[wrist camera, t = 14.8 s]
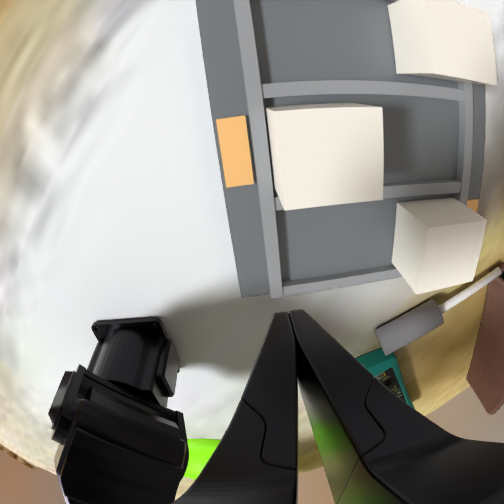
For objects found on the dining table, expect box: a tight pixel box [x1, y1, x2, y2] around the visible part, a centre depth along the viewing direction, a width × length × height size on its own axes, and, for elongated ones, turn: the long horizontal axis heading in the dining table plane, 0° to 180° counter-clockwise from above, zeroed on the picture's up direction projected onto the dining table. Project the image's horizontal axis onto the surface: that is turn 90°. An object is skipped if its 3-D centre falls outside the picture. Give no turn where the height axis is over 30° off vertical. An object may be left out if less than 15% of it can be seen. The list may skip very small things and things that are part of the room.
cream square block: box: [388, 0, 497, 86], centre depth 12 cm, size 5×5×4 cm
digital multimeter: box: [356, 348, 415, 409], centre depth 30 cm, size 7×15×3 cm, turn 31°
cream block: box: [265, 103, 384, 211], centre depth 15 cm, size 5×5×4 cm
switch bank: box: [196, 0, 485, 299], centre depth 17 cm, size 19×20×2 cm
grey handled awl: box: [374, 267, 502, 356], centre depth 24 cm, size 14×3×3 cm
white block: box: [392, 198, 487, 295], centre depth 18 cm, size 5×5×4 cm
